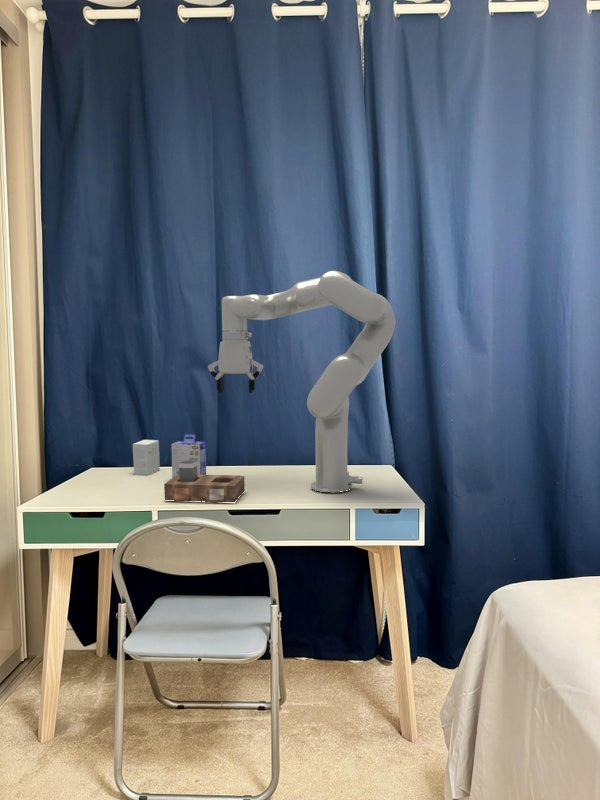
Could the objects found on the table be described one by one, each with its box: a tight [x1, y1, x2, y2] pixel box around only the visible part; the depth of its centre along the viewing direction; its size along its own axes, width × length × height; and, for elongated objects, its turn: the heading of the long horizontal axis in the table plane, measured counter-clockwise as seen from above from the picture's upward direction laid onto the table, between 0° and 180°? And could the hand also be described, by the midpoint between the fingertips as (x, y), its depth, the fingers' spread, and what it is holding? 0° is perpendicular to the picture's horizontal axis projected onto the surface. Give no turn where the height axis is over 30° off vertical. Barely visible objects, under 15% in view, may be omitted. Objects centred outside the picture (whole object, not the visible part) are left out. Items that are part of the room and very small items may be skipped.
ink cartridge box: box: [171, 433, 207, 479], centre depth 192 cm, size 10×6×14 cm, turn 78°
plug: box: [179, 461, 198, 482], centre depth 172 cm, size 4×4×10 cm
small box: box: [132, 439, 161, 476], centre depth 203 cm, size 8×6×10 cm
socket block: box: [163, 474, 246, 502], centre depth 172 cm, size 20×12×5 cm, turn 82°
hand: (235, 392), depth 186 cm, fingers open, 9 cm apart
